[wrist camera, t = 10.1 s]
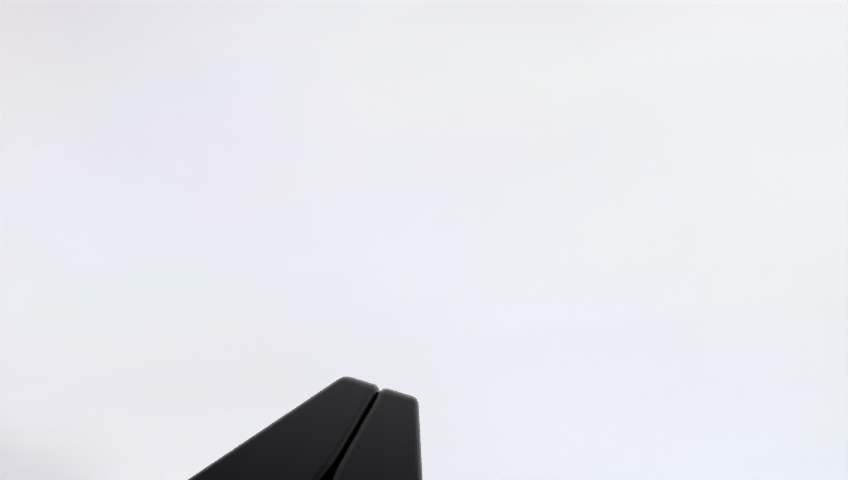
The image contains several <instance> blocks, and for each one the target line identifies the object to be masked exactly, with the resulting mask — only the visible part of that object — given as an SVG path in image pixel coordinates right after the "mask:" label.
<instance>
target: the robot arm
mask: <svg viewBox="0 0 848 480" xmlns="http://www.w3.org/2000/svg"><path fill="white" fill-rule="evenodd" d="M188 480H422V462H421V443H420V424H419V405H418V401H417V399H416V398H415V397H413V396H410V395H406V394H403V393H400V392H397V391H394V390H390V389H383V390H381V391H380V390H379V388H378V387H377V386H376V385H374V384H371V383H368V382H365V381H362V380H358V379H355V378H352V377H342V378H340V379H338V380H337V381H335V382H334V383H332V384H331V385H329V386H328V387H326V388H325V389H323V390H322V391H320V392H319V393H317V394H316V395H314V396H313V397H311V398H310V399H308V400H307V401H305V402H304V403H302V404H301V405H299V406H298V407H296V408H295V409H293V410H292V411H290V412H289V413H287V414H286V415H284V416H283V417H281V418H280V419H278V420H277V421H275V422H274V423H272V424H271V425H269V426H268V427H266V428H265V429H263V430H262V431H260V432H259V433H257V434H256V435H254V436H253V437H251V438H250V439H248V440H247V441H245V442H244V443H242V444H241V445H239V446H238V447H236V448H235V449H233V450H232V451H230V452H229V453H227V454H226V455H224V456H223V457H221V458H220V459H218V460H217V461H215V462H214V463H212V464H211V465H209V466H208V467H206V468H205V469H203V470H202V471H200V472H199V473H197V474H196V475H194V476H193V477H191V478H190V479H188Z"/></svg>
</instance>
